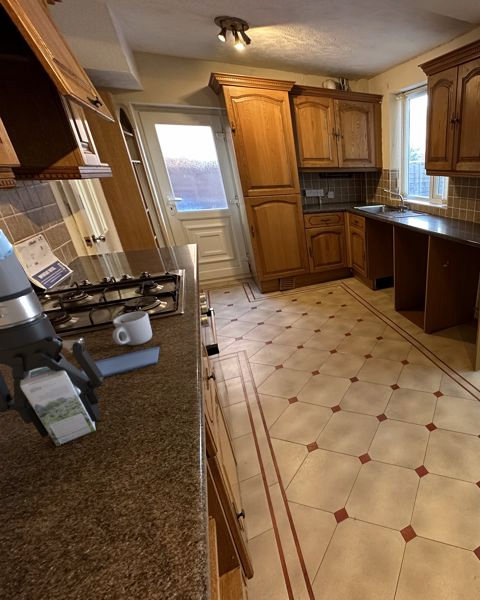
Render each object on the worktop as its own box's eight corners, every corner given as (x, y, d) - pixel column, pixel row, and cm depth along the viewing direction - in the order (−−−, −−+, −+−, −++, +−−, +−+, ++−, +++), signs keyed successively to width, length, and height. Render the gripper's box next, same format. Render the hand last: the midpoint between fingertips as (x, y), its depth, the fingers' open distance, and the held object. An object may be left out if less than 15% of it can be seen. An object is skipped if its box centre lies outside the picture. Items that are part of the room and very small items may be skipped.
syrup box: (94, 416, 68) (64, 358, 62) (96, 431, 64) (64, 371, 58) (56, 431, 64) (20, 371, 58) (56, 448, 60) (18, 386, 54)
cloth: (76, 384, 77) (75, 382, 77) (85, 365, 84) (85, 364, 84) (157, 363, 85) (156, 362, 84) (159, 347, 92) (158, 346, 92)
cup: (135, 353, 89) (125, 328, 86) (107, 354, 89) (95, 328, 86) (162, 334, 99) (153, 310, 96) (136, 334, 99) (127, 311, 96)
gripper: (-94, 347, 46) (-9, 460, 55) (84, 314, 55) (131, 416, 65) (-63, 326, 52) (10, 432, 61) (94, 299, 61) (136, 395, 71)
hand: (72, 424), depth 63 cm, fingers closed on syrup box, 6 cm apart
